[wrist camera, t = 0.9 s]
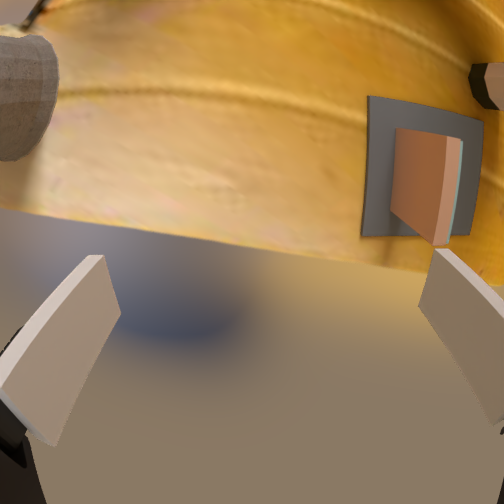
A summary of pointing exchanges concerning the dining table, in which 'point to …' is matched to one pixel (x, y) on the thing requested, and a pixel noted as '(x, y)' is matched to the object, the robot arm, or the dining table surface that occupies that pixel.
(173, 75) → the dining table surface
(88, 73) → the dining table surface
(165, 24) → the dining table surface
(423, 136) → the tile
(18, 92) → the pitcher
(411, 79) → the dining table surface
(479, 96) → the wine bottle
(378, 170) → the mat
